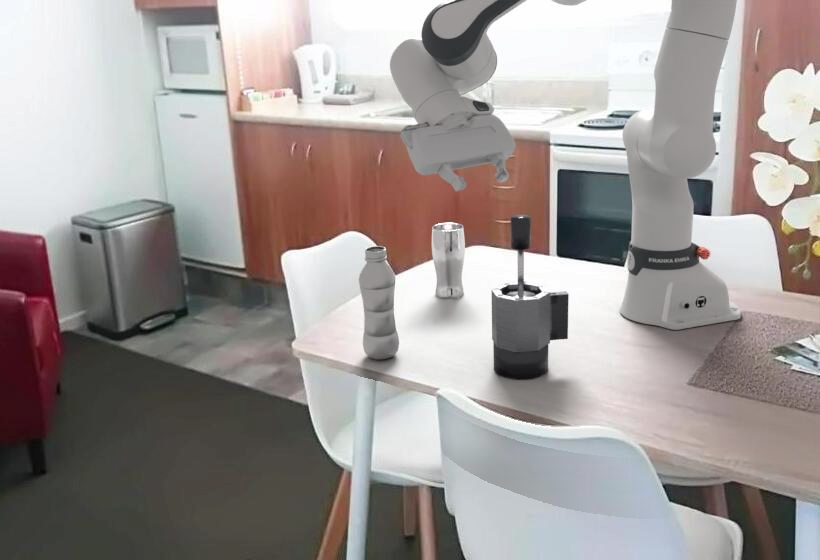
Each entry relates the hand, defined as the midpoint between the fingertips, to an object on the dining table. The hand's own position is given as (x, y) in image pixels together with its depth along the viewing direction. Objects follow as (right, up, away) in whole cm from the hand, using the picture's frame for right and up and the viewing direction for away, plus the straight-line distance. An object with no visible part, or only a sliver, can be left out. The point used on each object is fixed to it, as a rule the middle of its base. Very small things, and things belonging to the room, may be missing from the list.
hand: (483, 184), depth 143 cm
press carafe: (+8, -31, +3) cm, 32 cm away
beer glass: (-4, -19, +40) cm, 44 cm away
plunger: (+6, -19, -1) cm, 20 cm away
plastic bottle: (-17, -30, +10) cm, 36 cm away
